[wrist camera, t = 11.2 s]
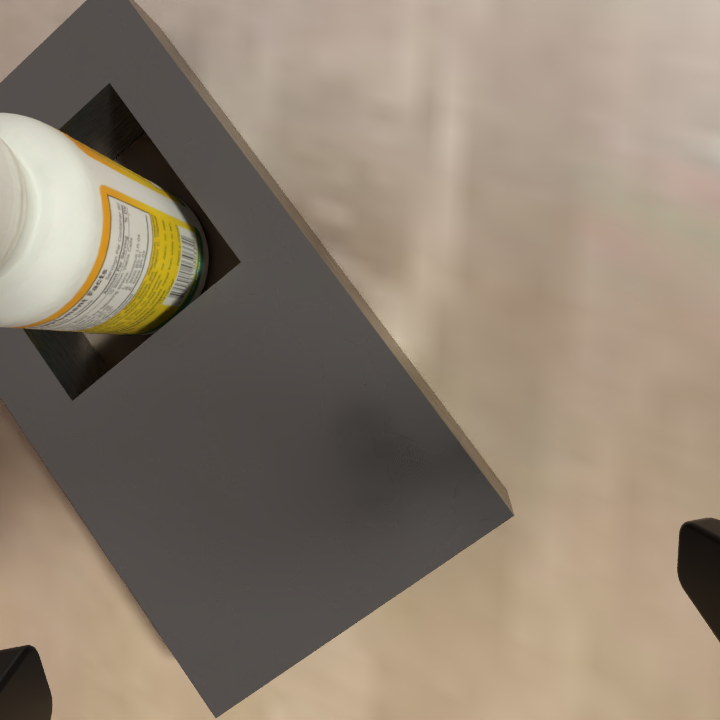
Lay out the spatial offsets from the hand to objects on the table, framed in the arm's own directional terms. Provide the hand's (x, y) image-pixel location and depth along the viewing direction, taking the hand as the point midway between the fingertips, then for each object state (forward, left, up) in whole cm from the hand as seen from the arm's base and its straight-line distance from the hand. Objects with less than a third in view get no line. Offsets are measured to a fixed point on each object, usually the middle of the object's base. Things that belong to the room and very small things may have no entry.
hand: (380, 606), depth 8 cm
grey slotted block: (+9, +4, -12) cm, 15 cm away
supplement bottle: (+12, +4, -12) cm, 17 cm away
